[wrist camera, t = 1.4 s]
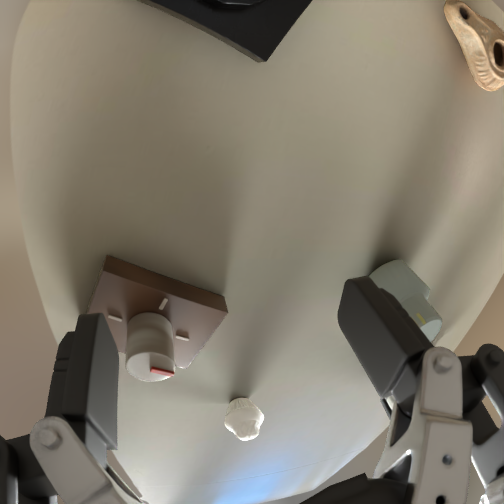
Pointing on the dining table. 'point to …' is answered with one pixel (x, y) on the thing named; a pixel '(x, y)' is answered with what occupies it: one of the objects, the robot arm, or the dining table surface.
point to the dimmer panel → (156, 306)
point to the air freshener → (409, 294)
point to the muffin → (243, 418)
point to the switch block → (239, 21)
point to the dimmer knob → (150, 347)
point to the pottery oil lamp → (478, 44)
